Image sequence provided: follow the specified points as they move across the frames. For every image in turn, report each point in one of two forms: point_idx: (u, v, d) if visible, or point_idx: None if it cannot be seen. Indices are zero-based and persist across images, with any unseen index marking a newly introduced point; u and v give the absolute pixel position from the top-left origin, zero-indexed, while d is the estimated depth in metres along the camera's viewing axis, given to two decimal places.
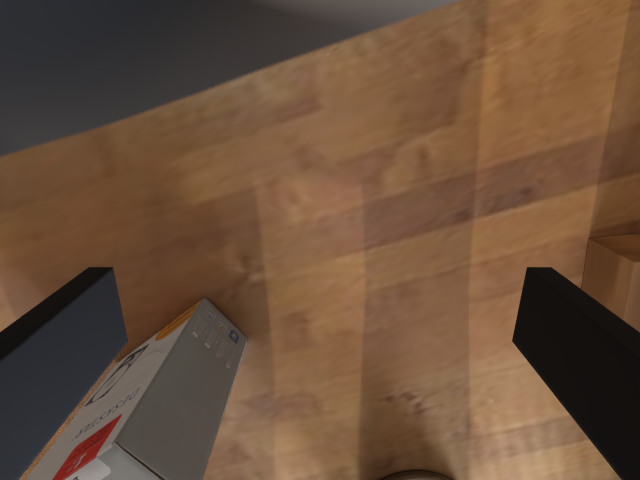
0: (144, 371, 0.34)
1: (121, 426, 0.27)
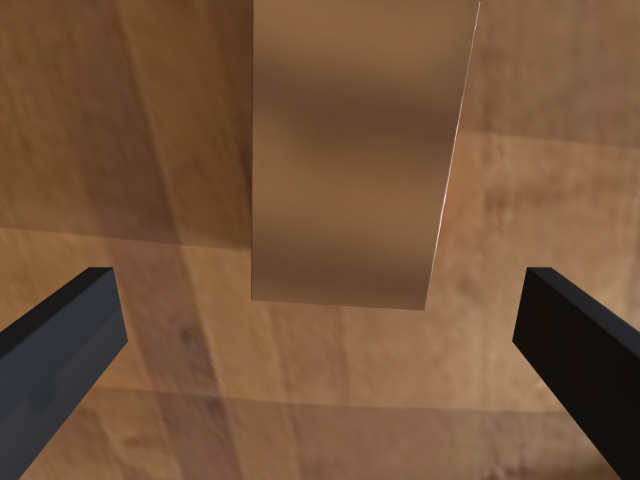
0: None
1: None
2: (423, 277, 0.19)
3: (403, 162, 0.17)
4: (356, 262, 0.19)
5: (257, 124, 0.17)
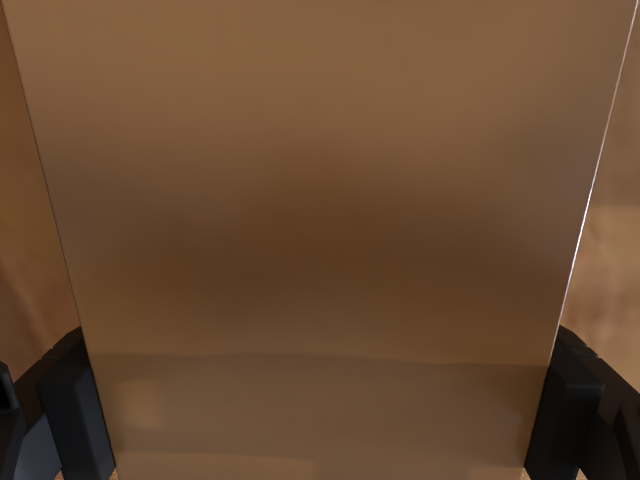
0: None
1: None
2: None
3: (439, 351, 0.07)
4: None
5: (85, 295, 0.07)
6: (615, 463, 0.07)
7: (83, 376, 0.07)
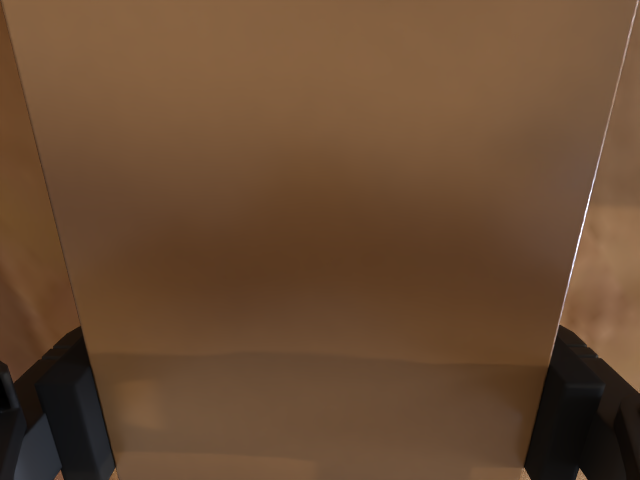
0: None
1: None
2: None
3: (440, 352, 0.07)
4: None
5: (85, 295, 0.07)
6: (615, 463, 0.07)
7: (83, 376, 0.07)
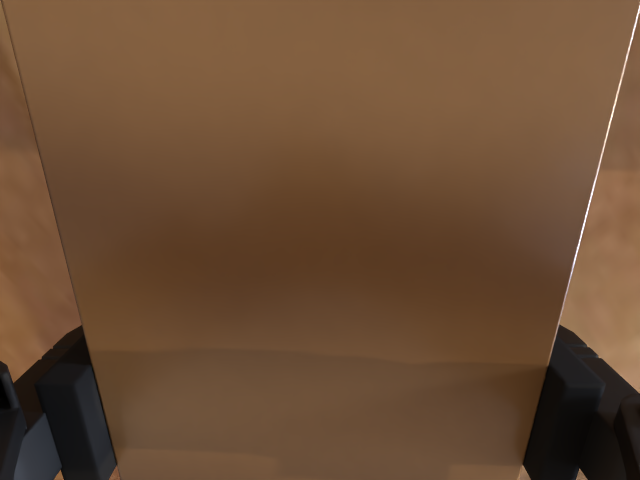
0: None
1: None
2: None
3: (439, 351, 0.07)
4: None
5: (86, 294, 0.07)
6: (615, 463, 0.07)
7: (83, 376, 0.07)
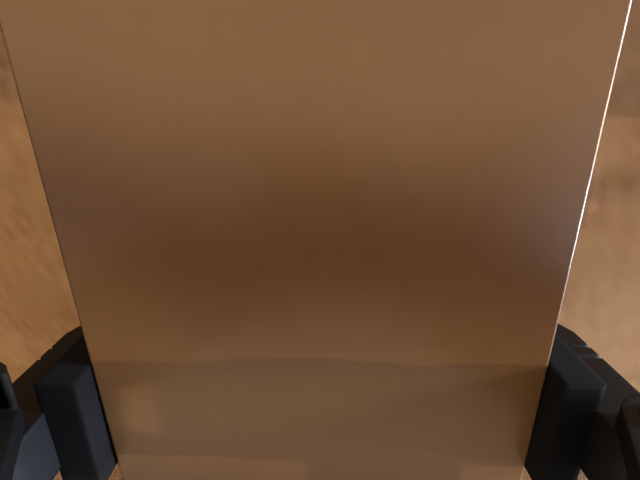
0: None
1: None
2: None
3: (439, 346, 0.07)
4: None
5: (84, 294, 0.07)
6: (616, 464, 0.07)
7: (82, 376, 0.07)
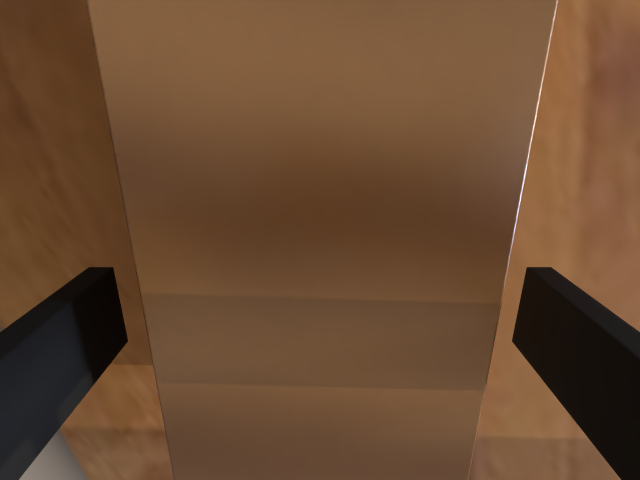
0: None
1: None
2: (460, 458, 0.12)
3: (416, 291, 0.10)
4: (346, 444, 0.11)
5: (140, 245, 0.09)
6: None
7: None
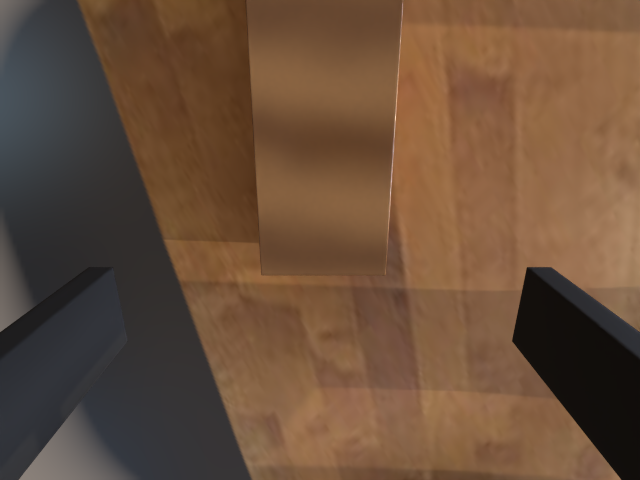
0: None
1: None
2: (381, 251, 0.27)
3: (359, 172, 0.25)
4: (333, 243, 0.27)
5: (258, 153, 0.25)
6: None
7: None
